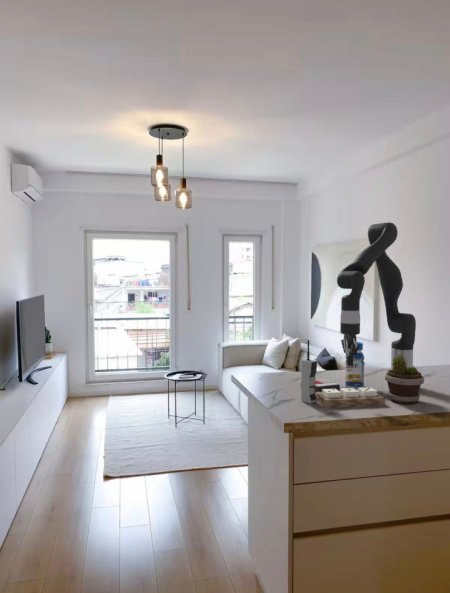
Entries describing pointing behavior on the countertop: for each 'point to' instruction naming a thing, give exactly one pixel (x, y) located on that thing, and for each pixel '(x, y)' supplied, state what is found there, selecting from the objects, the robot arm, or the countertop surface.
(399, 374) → the flowerpot
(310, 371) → the vintage mobile phone
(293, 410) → the countertop surface
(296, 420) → the countertop surface
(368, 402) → the wooden tray
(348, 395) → the button one
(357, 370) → the beverage bottle
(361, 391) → the button three
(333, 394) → the button two
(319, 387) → the calculator
